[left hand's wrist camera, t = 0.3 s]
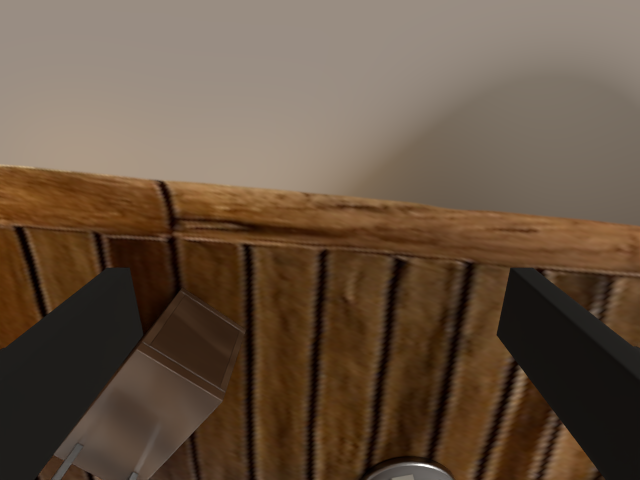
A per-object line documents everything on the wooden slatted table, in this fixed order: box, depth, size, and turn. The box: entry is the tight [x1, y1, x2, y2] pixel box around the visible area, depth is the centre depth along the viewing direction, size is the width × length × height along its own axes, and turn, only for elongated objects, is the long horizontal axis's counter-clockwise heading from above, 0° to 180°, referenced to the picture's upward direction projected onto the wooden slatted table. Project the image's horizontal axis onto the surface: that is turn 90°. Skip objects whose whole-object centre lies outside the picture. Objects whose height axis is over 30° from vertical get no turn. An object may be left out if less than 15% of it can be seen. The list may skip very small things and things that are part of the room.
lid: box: [51, 343, 225, 480], centre depth 33 cm, size 17×9×9 cm, turn 140°
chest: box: [68, 288, 246, 435], centre depth 42 cm, size 16×9×10 cm, turn 140°
